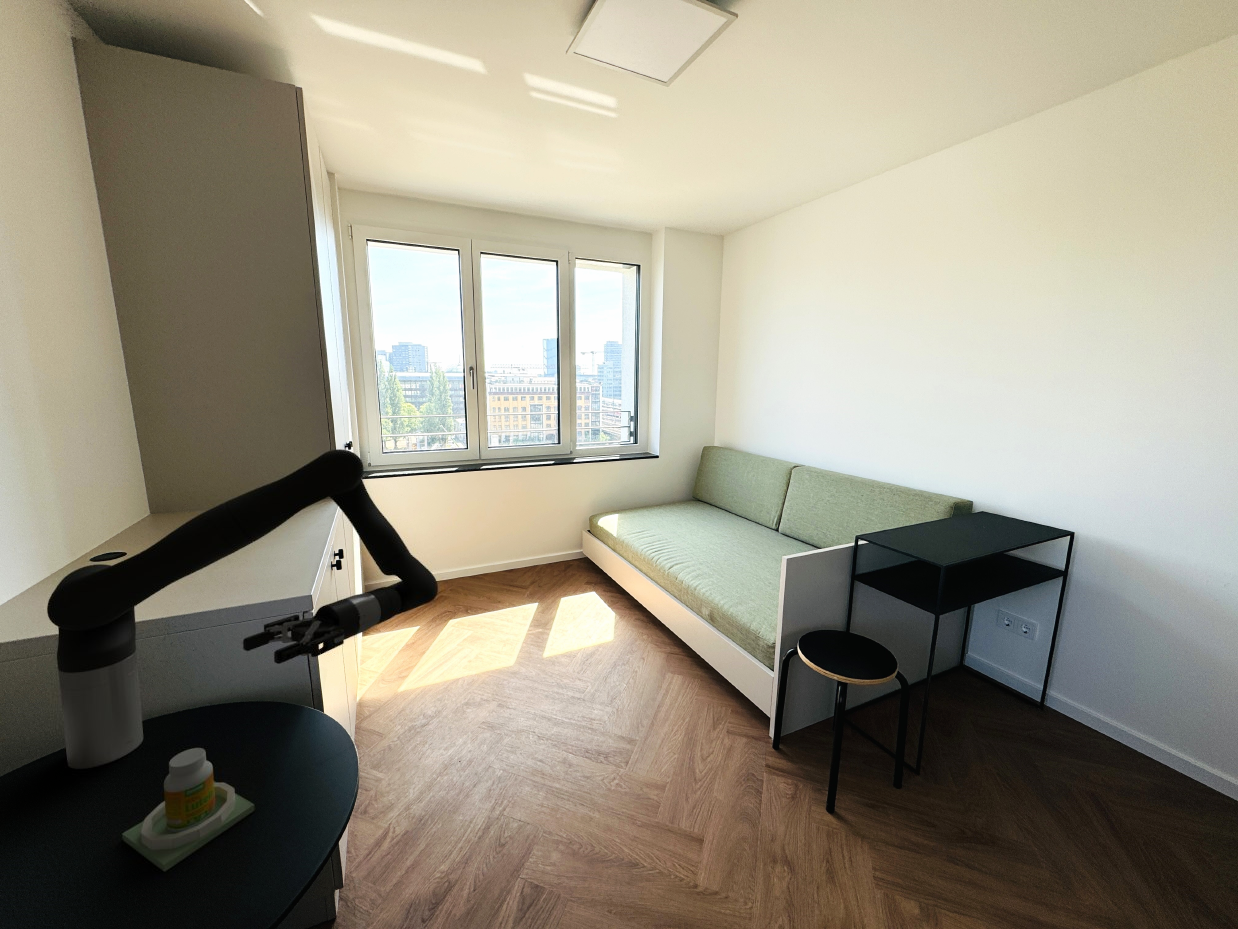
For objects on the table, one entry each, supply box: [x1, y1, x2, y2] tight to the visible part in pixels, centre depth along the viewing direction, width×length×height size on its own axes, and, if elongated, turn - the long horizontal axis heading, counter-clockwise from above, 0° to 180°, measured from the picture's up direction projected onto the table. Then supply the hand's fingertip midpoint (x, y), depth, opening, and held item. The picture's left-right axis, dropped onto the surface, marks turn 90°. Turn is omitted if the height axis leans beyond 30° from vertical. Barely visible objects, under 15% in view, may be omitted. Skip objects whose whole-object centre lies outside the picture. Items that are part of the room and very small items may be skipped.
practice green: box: [121, 780, 255, 873], centre depth 71 cm, size 11×11×2 cm
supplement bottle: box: [163, 747, 215, 832], centre depth 71 cm, size 5×5×10 cm
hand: (259, 651), depth 80 cm, fingers open, 8 cm apart
